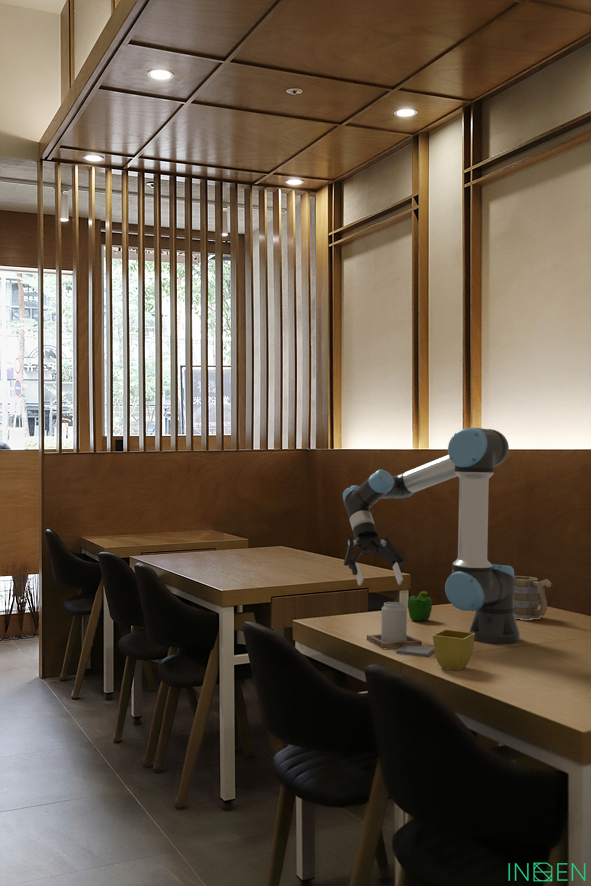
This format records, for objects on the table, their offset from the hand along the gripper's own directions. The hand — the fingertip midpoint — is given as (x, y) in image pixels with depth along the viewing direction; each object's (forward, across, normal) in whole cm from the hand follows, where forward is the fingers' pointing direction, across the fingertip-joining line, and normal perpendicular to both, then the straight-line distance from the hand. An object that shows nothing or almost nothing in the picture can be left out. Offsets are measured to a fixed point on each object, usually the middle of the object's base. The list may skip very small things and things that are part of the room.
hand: (380, 582), depth 257 cm
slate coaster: (+27, -1, +5) cm, 28 cm away
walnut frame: (+19, 0, -4) cm, 19 cm away
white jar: (+19, 0, -4) cm, 20 cm away
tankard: (+3, -64, -21) cm, 68 cm away
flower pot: (+40, -2, +20) cm, 45 cm away
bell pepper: (-2, -25, -27) cm, 37 cm away
